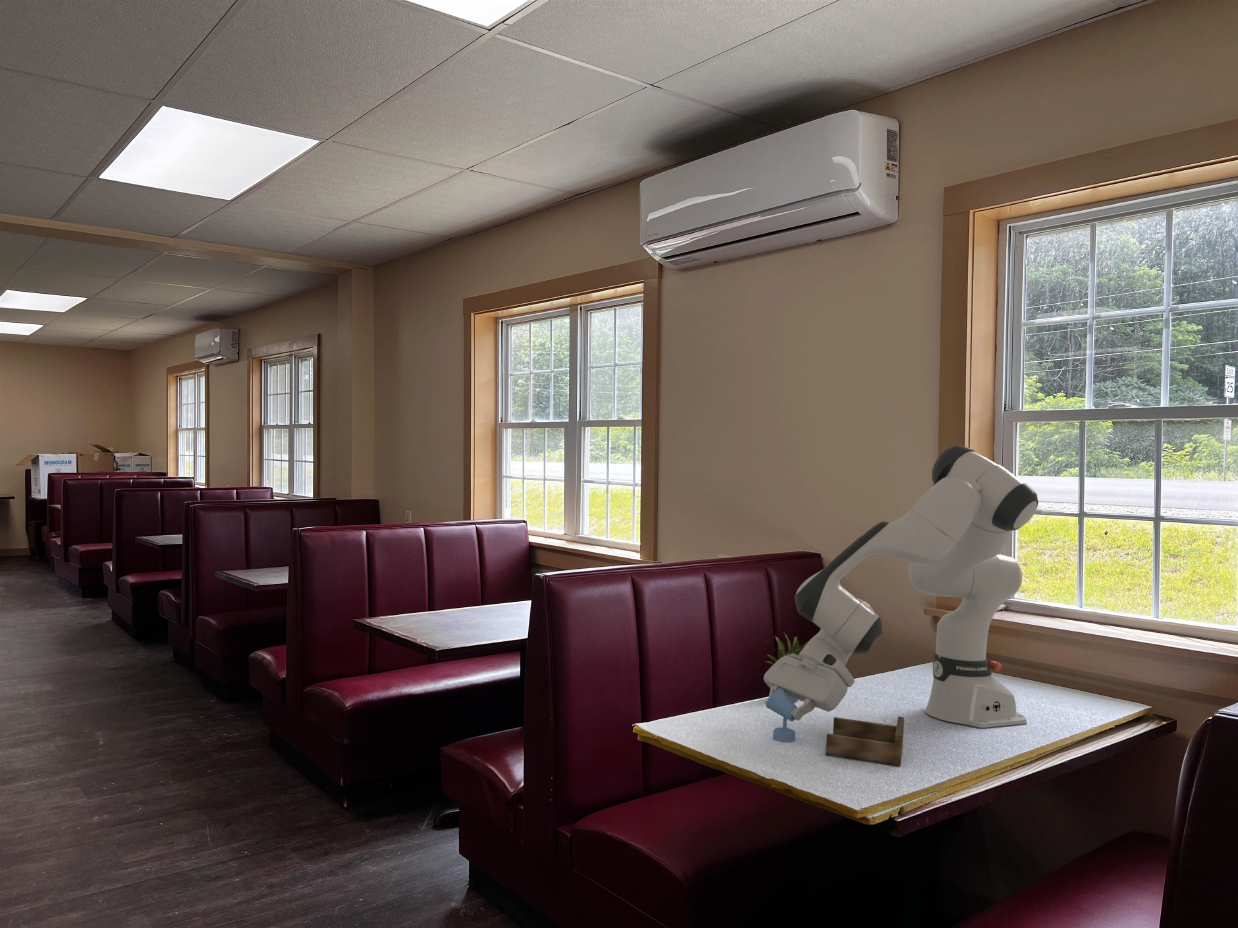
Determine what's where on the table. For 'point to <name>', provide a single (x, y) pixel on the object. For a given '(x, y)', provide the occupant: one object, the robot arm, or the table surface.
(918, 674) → the table surface
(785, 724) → the spotlight
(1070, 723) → the table surface
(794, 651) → the house plant
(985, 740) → the table surface
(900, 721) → the wooden display tray
